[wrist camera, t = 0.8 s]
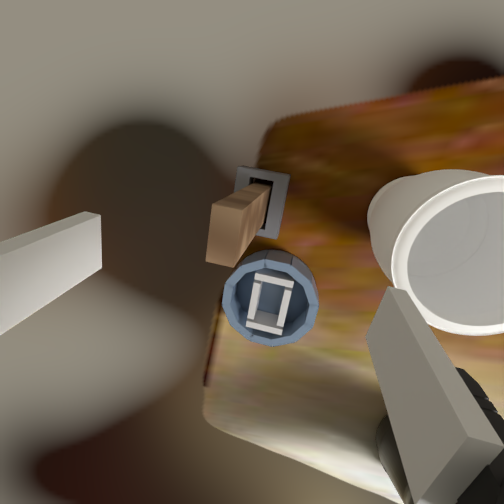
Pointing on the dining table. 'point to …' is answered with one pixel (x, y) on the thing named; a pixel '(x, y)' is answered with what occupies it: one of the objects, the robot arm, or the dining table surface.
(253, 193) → the brown long rectangular bar
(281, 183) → the grey slotted block
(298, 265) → the candle dish
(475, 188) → the jar
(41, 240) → the robot arm
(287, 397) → the dining table surface
